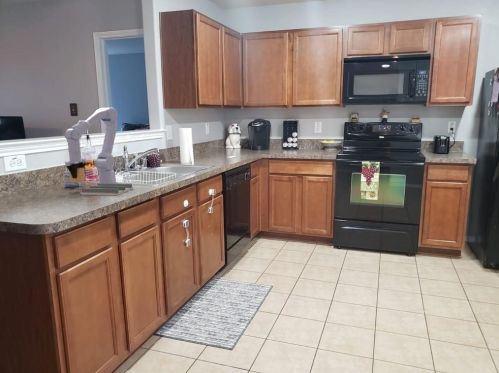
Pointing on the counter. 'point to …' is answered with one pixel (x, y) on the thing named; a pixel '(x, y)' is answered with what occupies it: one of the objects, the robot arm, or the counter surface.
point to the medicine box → (67, 181)
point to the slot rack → (106, 189)
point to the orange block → (78, 176)
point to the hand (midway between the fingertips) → (77, 177)
